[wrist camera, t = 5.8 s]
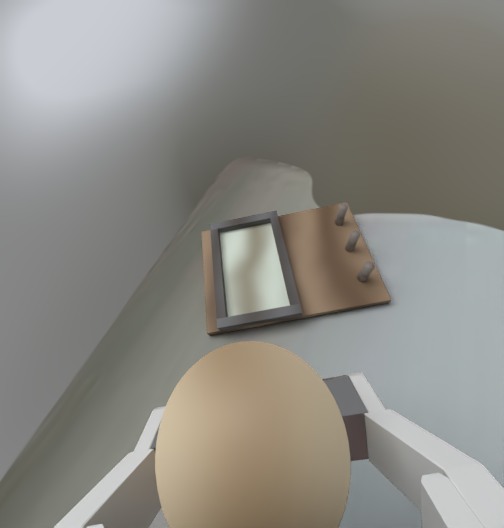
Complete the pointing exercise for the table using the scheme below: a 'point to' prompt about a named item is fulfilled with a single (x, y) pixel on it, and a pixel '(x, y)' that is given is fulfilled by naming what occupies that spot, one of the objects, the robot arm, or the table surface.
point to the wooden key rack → (286, 268)
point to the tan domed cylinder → (252, 444)
